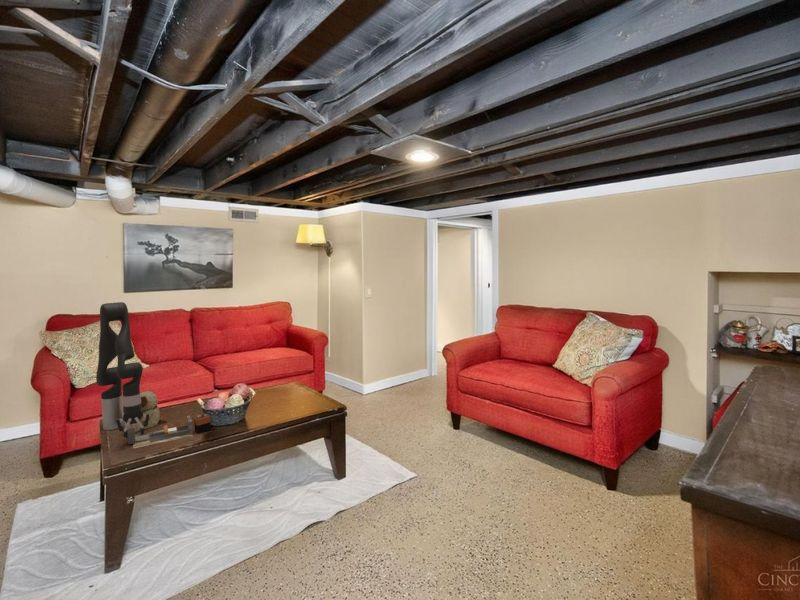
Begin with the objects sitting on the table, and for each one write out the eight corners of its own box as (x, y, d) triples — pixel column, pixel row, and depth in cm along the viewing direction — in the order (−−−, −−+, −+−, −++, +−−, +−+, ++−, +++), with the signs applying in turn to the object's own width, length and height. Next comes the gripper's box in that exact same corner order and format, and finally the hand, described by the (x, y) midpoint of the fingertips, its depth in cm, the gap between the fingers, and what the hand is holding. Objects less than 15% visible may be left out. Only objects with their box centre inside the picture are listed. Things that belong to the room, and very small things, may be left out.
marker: (167, 434, 209) (167, 428, 208) (176, 432, 211) (176, 427, 211) (168, 437, 205) (167, 431, 205) (177, 435, 208) (176, 429, 207)
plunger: (128, 441, 200) (127, 428, 199) (167, 433, 209) (166, 421, 208) (128, 445, 196) (127, 432, 195) (168, 436, 205) (167, 424, 204)
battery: (194, 433, 212) (193, 415, 211) (207, 430, 217) (206, 412, 217) (198, 436, 209) (197, 417, 209) (211, 432, 215) (210, 414, 214)
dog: (133, 421, 230) (131, 387, 228) (170, 416, 236) (169, 383, 235) (122, 437, 208) (120, 400, 206) (163, 432, 215) (161, 396, 213)
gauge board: (133, 440, 205) (132, 424, 204) (190, 428, 219) (189, 414, 218) (133, 450, 193) (132, 434, 192) (193, 437, 207) (192, 422, 207)
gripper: (149, 398, 204) (151, 430, 206) (114, 404, 196) (116, 437, 198) (149, 402, 198) (151, 435, 199) (113, 408, 190) (116, 443, 192)
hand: (134, 436), depth 199 cm, fingers closed on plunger, 5 cm apart
